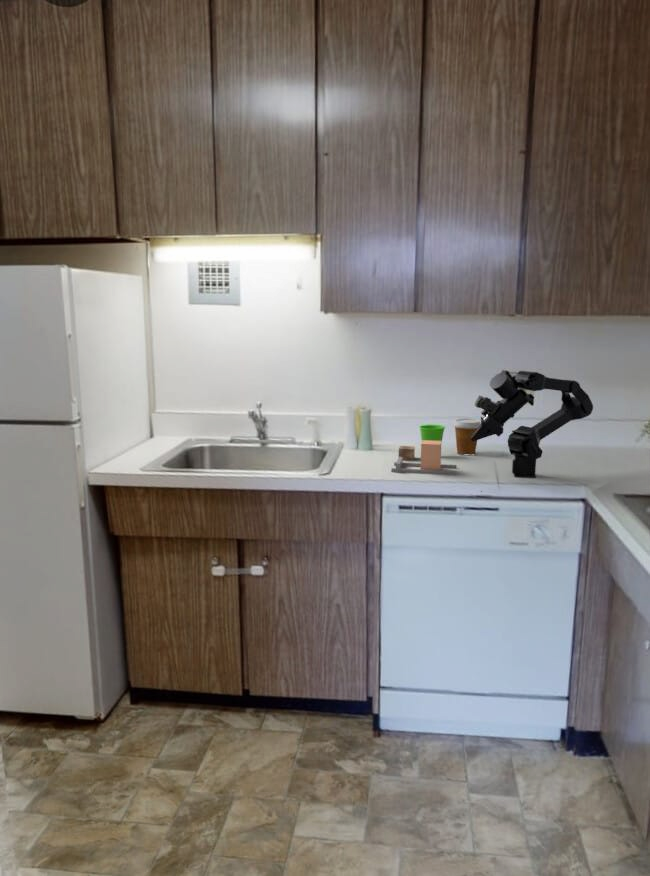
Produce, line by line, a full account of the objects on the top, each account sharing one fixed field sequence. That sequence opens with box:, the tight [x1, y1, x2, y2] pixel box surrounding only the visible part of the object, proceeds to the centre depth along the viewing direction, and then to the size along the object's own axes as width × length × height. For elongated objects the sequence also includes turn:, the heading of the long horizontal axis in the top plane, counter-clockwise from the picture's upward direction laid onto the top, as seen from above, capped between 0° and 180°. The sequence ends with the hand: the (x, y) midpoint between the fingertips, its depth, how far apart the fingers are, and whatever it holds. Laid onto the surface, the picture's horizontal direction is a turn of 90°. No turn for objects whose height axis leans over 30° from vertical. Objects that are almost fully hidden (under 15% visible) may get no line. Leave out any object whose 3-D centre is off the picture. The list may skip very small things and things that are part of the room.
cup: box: [418, 424, 446, 444], centre depth 234 cm, size 9×9×11 cm
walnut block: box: [398, 445, 416, 462], centre depth 229 cm, size 5×5×5 cm
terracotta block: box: [420, 439, 442, 470], centre depth 212 cm, size 6×6×9 cm
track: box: [390, 456, 458, 476], centre depth 213 cm, size 20×10×4 cm, turn 78°
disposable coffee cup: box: [453, 418, 481, 455], centre depth 240 cm, size 10×10×12 cm
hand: (471, 440), depth 208 cm, fingers closed
